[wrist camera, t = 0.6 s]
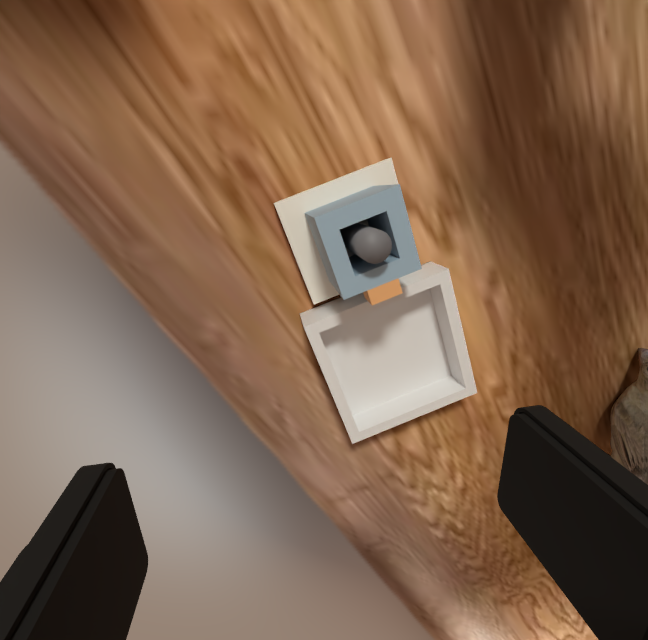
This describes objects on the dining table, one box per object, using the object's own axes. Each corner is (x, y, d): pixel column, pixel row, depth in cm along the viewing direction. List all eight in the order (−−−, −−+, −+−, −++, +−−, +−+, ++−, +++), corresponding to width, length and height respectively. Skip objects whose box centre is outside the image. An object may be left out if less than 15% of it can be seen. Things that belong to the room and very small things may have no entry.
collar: (373, 185, 29) (399, 184, 23) (397, 267, 32) (425, 284, 26) (304, 212, 29) (314, 217, 23) (333, 293, 32) (349, 314, 26)
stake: (386, 158, 30) (430, 146, 22) (413, 260, 33) (460, 281, 25) (273, 203, 29) (277, 207, 22) (312, 300, 33) (327, 334, 25)
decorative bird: (658, 345, 41) (737, 376, 34) (613, 460, 46) (673, 507, 40) (617, 345, 40) (690, 377, 33) (576, 463, 45) (632, 511, 39)
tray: (430, 261, 33) (448, 268, 30) (458, 375, 38) (477, 392, 35) (299, 313, 33) (303, 326, 30) (344, 422, 38) (352, 443, 34)
